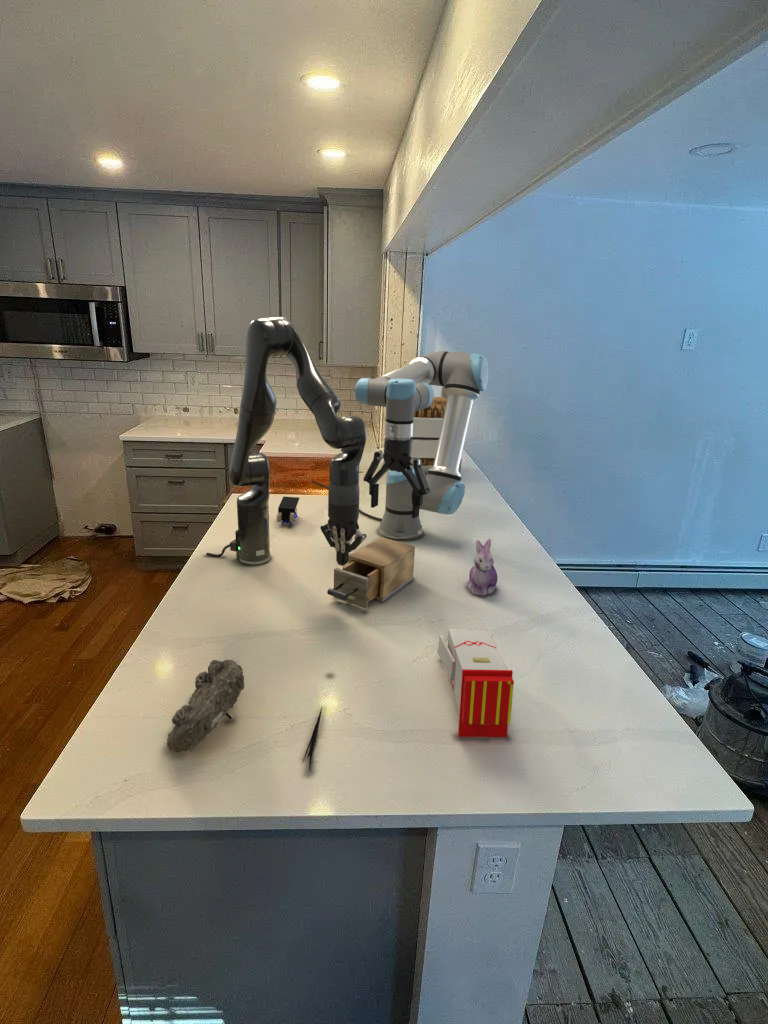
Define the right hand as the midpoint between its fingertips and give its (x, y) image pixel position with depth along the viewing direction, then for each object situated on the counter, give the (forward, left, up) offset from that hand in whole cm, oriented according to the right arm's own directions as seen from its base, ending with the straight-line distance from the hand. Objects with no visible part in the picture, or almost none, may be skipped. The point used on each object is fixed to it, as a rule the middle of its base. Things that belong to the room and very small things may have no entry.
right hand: (394, 511), depth 160 cm
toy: (+50, -22, -21) cm, 58 cm away
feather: (+38, -52, -21) cm, 67 cm away
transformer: (-77, +86, -21) cm, 117 cm away
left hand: (+7, -24, -7) cm, 26 cm away
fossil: (+25, -67, -21) cm, 75 cm away
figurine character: (-56, -1, -21) cm, 60 cm away
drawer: (+5, -16, -20) cm, 26 cm away
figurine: (+21, +16, -21) cm, 34 cm away
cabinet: (+2, -5, -21) cm, 21 cm away
